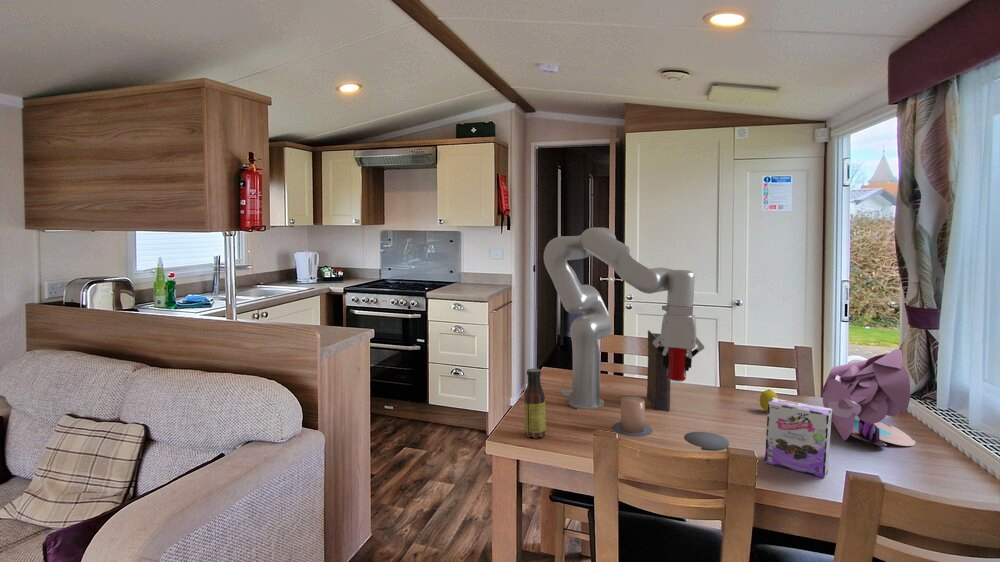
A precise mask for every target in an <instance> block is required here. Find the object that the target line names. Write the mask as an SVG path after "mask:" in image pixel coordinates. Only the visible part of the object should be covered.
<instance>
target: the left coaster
mask: <svg viewBox="0 0 1000 562" xmlns="http://www.w3.org/2000/svg"><path fill="white" fill-rule="evenodd" d="M620 424H621V421H618V422H616V423H614V424H613V425H612V427H611V428H612V431H614V432H615V431H616V432H615V433H617V434H619V435H622V436H627V437H637V438H639V437H647V436H649V435H651V434H652V433H653V432H654V431H653V428H652V427H651V426H649V425H647V424H645V423H644V431H643V432H641V433H628V432H625V431H623V430H621V428H620Z"/></svg>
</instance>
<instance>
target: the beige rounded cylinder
mask: <svg viewBox="0 0 1000 562" xmlns="http://www.w3.org/2000/svg"><path fill="white" fill-rule="evenodd" d="M645 407H646V401H645V399H644V398H642V397H638V396H631V395H630V396H629V395H628V396H623V397H621V398H620V422H621V424H620V428H621V430H623V431H625V432H628V433H641V432H643V431H644V424H645V410H646V409H645Z"/></svg>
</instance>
